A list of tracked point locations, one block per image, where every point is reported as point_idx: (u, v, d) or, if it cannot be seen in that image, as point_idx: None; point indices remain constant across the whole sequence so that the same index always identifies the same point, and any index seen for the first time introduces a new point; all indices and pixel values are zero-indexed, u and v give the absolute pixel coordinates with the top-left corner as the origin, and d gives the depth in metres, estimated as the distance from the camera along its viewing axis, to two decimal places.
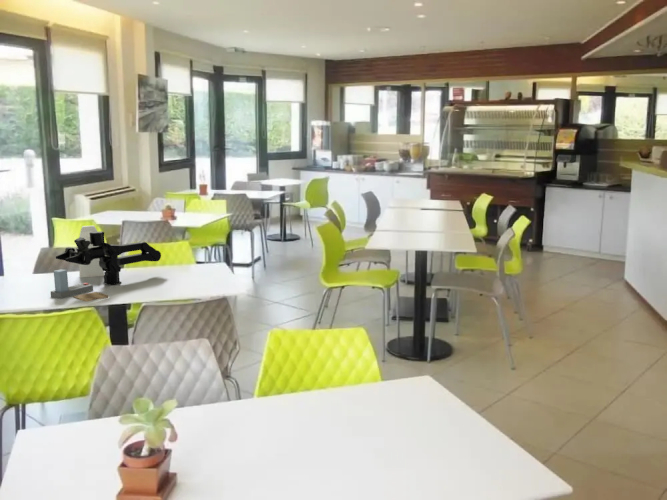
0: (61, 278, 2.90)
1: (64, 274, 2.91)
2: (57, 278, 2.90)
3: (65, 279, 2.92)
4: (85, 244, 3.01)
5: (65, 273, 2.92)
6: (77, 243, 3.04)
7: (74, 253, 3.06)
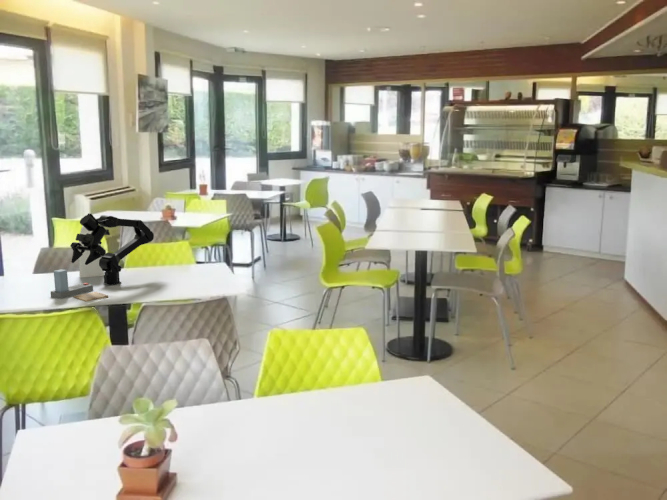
0: (61, 278, 2.90)
1: (64, 274, 2.91)
2: (57, 278, 2.90)
3: (65, 279, 2.92)
4: (89, 239, 3.00)
5: (65, 273, 2.92)
6: (80, 240, 3.01)
7: (82, 247, 3.06)
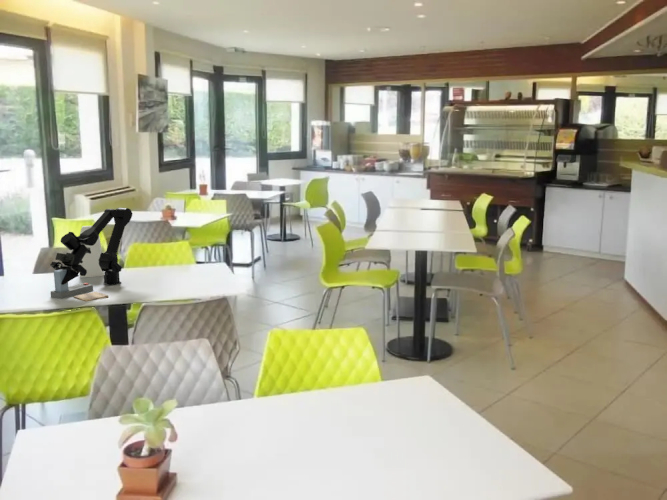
0: (61, 278, 2.90)
1: (64, 274, 2.91)
2: (57, 278, 2.90)
3: None
4: (69, 258, 2.90)
5: (65, 273, 2.92)
6: (60, 259, 2.92)
7: None
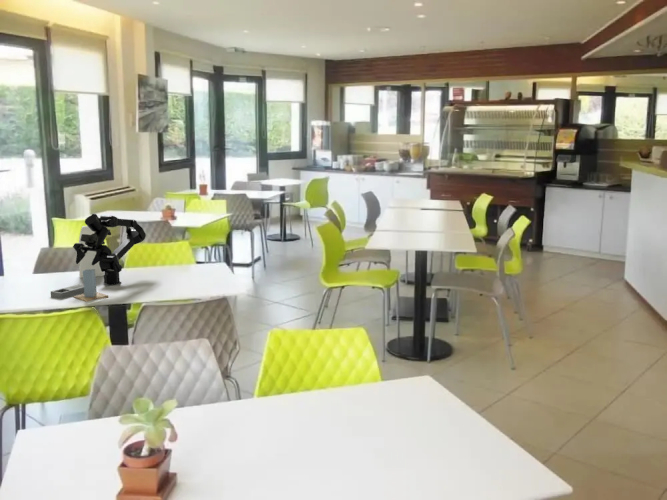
0: (92, 278, 2.89)
1: (93, 273, 2.90)
2: (88, 278, 2.88)
3: (94, 278, 2.91)
4: (94, 239, 2.99)
5: (94, 272, 2.91)
6: (85, 241, 3.00)
7: (85, 247, 3.05)
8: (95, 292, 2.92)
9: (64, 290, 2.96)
